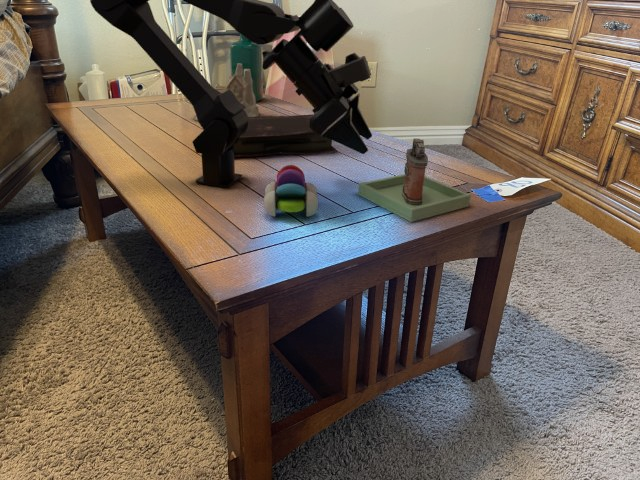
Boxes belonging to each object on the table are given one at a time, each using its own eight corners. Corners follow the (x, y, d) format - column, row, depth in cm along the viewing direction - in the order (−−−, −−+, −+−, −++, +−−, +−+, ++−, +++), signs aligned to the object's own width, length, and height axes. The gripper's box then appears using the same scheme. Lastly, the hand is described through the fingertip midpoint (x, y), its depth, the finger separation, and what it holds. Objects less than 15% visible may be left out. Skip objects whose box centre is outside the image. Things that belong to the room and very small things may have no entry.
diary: (211, 137, 120) (210, 115, 118) (312, 132, 128) (313, 112, 126) (224, 160, 105) (223, 136, 102) (338, 153, 112) (339, 131, 110)
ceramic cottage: (266, 112, 144) (261, 57, 137) (244, 128, 130) (238, 67, 123) (215, 111, 148) (208, 56, 141) (189, 126, 134) (180, 66, 127)
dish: (410, 222, 80) (412, 209, 80) (358, 194, 90) (358, 183, 90) (469, 206, 88) (471, 194, 87) (414, 182, 97) (415, 171, 97)
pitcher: (229, 101, 158) (226, 24, 148) (239, 96, 165) (237, 22, 155) (259, 103, 156) (258, 26, 146) (268, 99, 163) (268, 24, 154)
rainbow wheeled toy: (316, 199, 87) (317, 158, 84) (317, 223, 79) (319, 178, 75) (266, 198, 87) (266, 157, 84) (262, 222, 78) (262, 177, 75)
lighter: (399, 188, 92) (405, 133, 88) (418, 189, 92) (425, 134, 88) (404, 205, 85) (411, 146, 81) (425, 206, 85) (433, 147, 81)
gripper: (335, 41, 71) (405, 127, 75) (350, 32, 88) (406, 102, 91) (279, 94, 76) (348, 173, 79) (303, 76, 92) (359, 141, 96)
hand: (368, 144), depth 86 cm, fingers open, 9 cm apart
